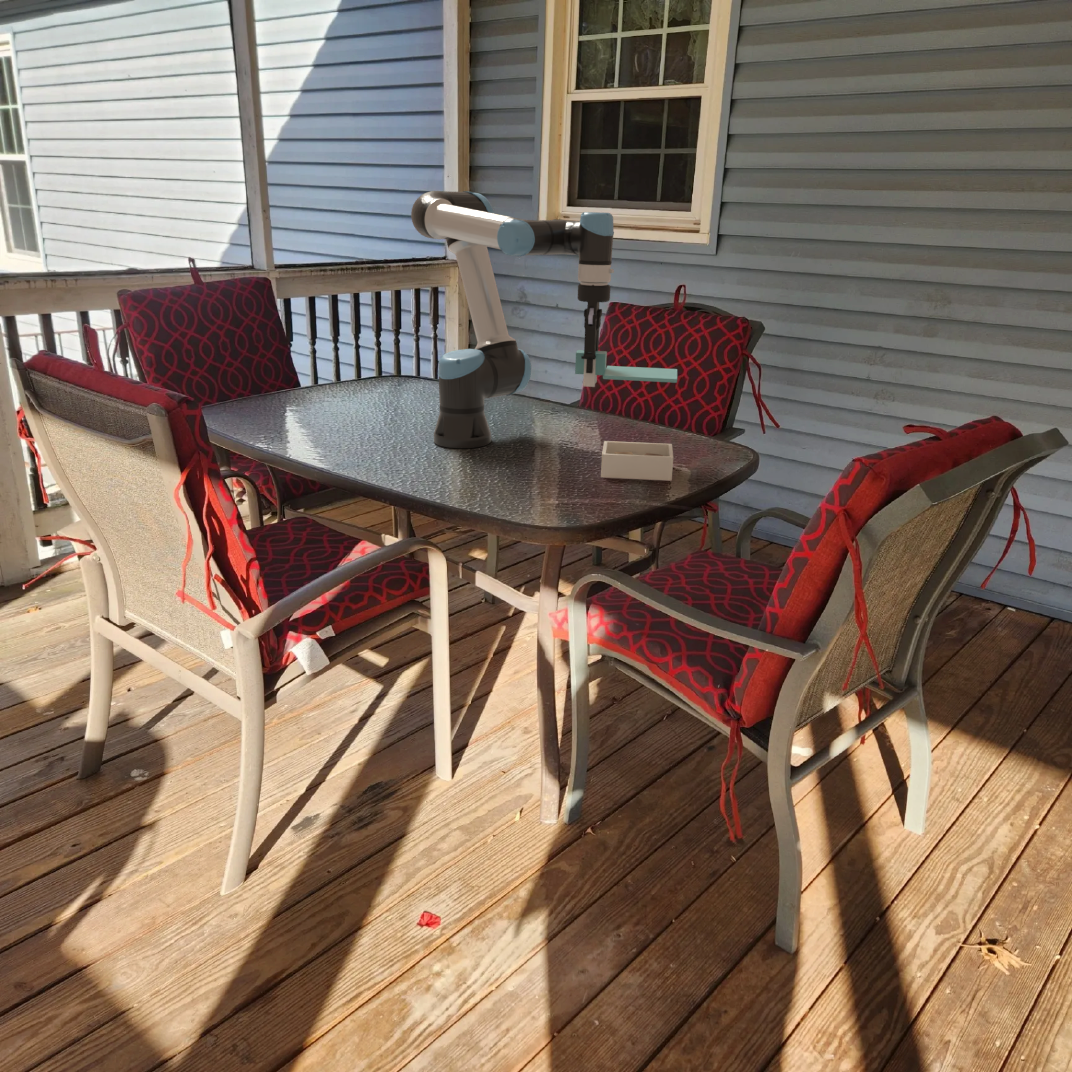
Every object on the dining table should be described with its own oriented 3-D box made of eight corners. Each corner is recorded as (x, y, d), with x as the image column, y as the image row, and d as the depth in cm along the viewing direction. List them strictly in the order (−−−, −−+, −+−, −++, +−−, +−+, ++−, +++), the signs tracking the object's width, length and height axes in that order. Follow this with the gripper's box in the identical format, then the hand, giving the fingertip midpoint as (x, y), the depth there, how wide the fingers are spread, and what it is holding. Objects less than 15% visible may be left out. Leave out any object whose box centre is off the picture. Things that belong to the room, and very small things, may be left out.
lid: (572, 377, 199) (573, 355, 197) (578, 367, 211) (579, 347, 209) (676, 382, 196) (678, 360, 194) (677, 372, 208) (678, 351, 206)
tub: (600, 479, 195) (601, 454, 193) (603, 465, 206) (604, 441, 204) (671, 483, 193) (673, 457, 191) (670, 468, 204) (671, 443, 202)
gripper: (607, 287, 189) (602, 392, 197) (613, 281, 204) (608, 378, 213) (574, 286, 190) (570, 390, 198) (582, 279, 205) (578, 376, 214)
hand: (589, 384), depth 206 cm, fingers closed on lid, 4 cm apart
